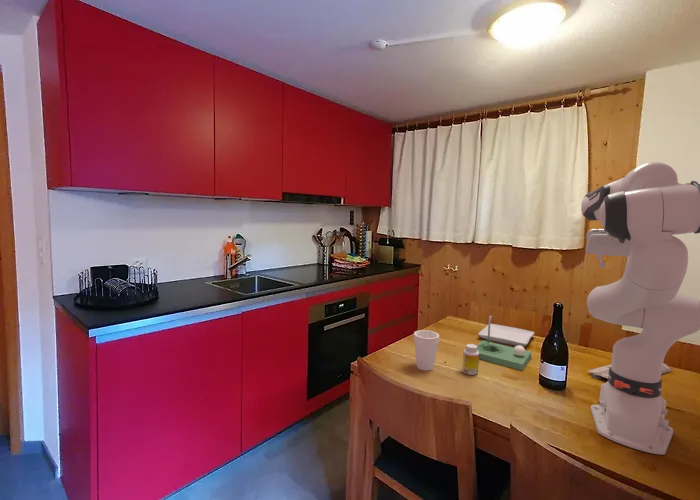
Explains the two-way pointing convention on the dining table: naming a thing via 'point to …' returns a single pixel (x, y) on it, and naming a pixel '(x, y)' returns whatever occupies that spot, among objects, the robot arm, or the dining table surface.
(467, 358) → the supplement bottle
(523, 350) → the ball
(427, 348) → the foam cup
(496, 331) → the salad plate
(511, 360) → the golf putting green
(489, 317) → the flag pin
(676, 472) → the dining table surface
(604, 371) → the newspaper
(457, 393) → the dining table surface
